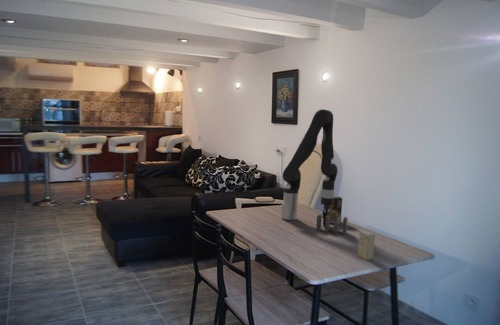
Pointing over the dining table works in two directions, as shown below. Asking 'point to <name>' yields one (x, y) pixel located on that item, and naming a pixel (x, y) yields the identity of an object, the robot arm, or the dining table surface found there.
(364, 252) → the skincare box
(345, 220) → the domino
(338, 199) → the coffee box
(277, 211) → the dining table surface
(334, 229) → the domino
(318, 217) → the domino
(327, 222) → the domino
